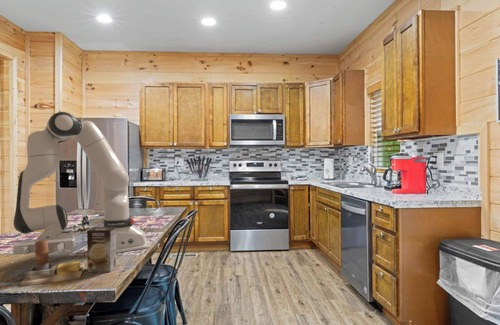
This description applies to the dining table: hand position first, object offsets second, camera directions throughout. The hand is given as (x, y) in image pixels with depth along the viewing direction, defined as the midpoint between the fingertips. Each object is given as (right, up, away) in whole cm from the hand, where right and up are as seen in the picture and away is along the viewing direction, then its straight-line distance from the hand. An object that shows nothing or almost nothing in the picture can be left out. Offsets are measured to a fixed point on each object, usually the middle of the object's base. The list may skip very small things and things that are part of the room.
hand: (41, 250), depth 117 cm
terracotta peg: (0, -9, +1) cm, 9 cm away
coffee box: (+18, -10, +8) cm, 23 cm away
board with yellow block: (+4, -10, +3) cm, 11 cm away
